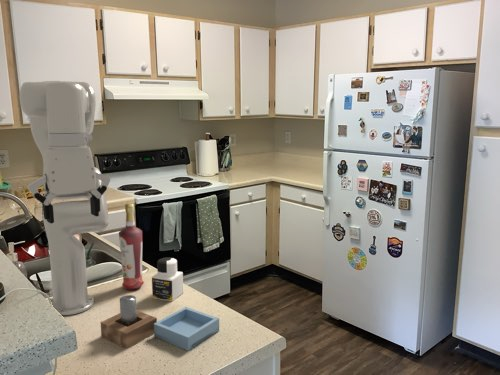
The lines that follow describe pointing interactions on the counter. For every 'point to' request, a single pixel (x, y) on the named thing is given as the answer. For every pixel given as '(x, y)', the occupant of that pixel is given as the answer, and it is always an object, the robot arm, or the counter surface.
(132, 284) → the liquor
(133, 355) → the counter surface
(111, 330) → the hole block
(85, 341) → the counter surface
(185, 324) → the tray
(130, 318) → the peg
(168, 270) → the medicine bottle
